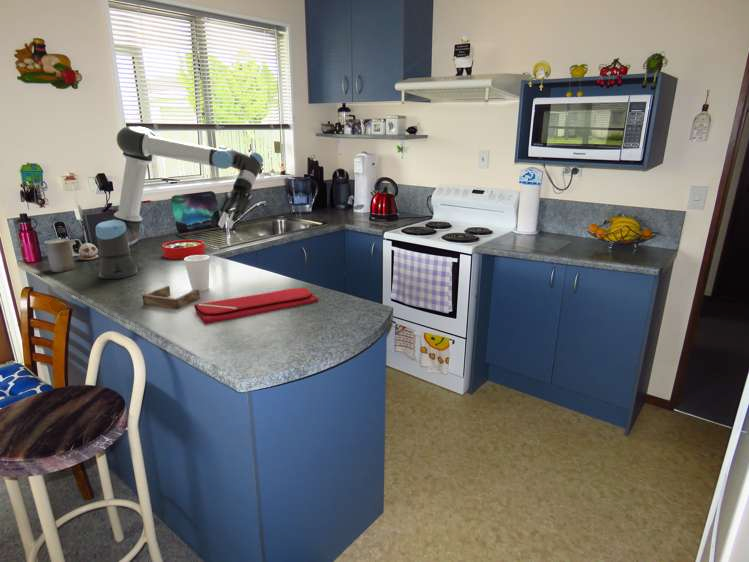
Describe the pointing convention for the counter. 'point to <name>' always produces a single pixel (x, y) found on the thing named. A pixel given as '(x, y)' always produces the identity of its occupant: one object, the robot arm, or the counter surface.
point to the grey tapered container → (59, 255)
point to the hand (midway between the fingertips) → (224, 226)
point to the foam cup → (198, 271)
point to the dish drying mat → (253, 304)
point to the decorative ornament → (88, 250)
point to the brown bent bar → (161, 300)
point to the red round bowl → (183, 249)
